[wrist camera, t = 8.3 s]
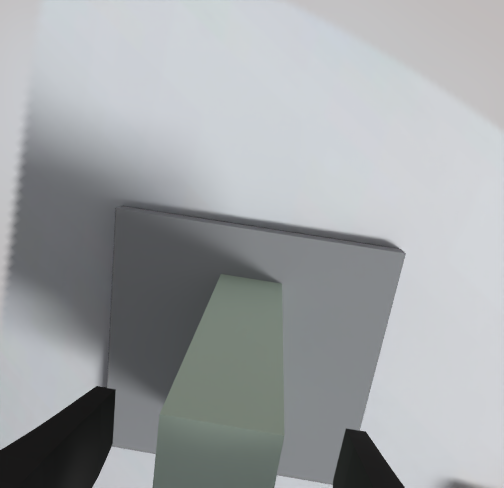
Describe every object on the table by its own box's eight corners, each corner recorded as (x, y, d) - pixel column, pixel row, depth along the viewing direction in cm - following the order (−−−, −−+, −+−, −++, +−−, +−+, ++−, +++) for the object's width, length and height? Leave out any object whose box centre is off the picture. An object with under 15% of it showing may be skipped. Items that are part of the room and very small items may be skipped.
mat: (109, 435, 18) (104, 444, 18) (121, 205, 15) (115, 208, 15) (342, 475, 18) (344, 486, 17) (400, 249, 15) (405, 253, 14)
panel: (201, 423, 17) (136, 659, 9) (221, 274, 15) (159, 414, 7) (256, 432, 17) (236, 678, 9) (281, 283, 15) (284, 435, 7)
